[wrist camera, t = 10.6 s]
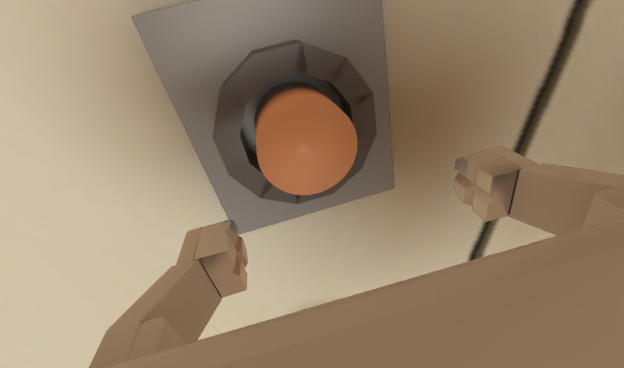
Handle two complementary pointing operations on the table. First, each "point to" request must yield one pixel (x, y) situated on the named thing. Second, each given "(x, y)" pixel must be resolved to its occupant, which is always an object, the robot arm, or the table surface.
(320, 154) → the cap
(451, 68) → the table surface
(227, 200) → the square flange plate
